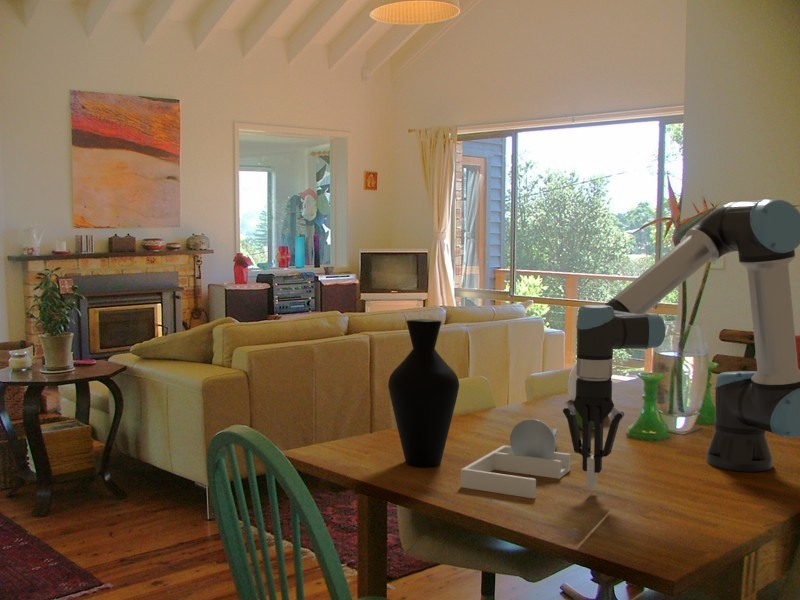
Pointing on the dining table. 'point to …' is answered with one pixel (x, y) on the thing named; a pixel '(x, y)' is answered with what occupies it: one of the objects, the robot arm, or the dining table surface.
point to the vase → (423, 397)
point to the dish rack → (506, 460)
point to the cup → (572, 383)
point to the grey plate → (533, 439)
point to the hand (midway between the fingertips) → (591, 486)
